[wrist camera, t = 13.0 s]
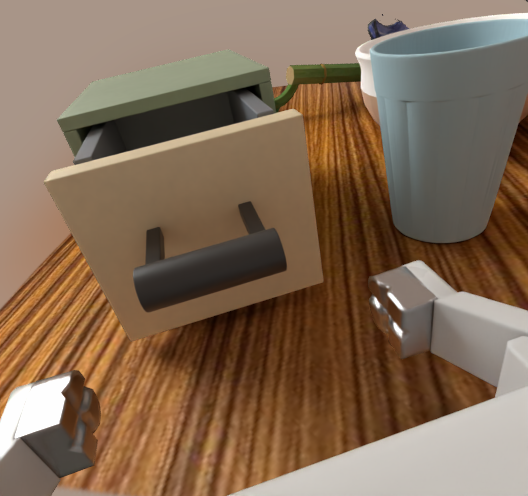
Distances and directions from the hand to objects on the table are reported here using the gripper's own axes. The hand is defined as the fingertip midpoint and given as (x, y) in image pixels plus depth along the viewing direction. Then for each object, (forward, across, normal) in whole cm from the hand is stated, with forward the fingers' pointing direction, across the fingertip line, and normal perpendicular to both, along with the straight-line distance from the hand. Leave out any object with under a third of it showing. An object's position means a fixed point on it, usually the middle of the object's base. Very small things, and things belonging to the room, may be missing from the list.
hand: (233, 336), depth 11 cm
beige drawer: (+11, 0, +5) cm, 12 cm away
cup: (+11, -14, +6) cm, 19 cm away
